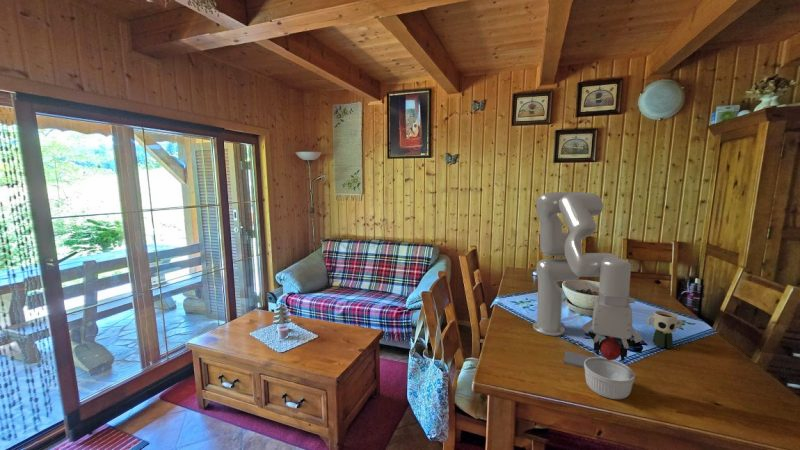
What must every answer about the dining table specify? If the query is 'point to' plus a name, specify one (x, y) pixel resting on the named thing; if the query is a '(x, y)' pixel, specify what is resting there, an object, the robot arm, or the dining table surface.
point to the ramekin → (608, 377)
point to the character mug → (664, 327)
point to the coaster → (575, 359)
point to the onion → (610, 348)
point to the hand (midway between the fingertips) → (609, 355)
